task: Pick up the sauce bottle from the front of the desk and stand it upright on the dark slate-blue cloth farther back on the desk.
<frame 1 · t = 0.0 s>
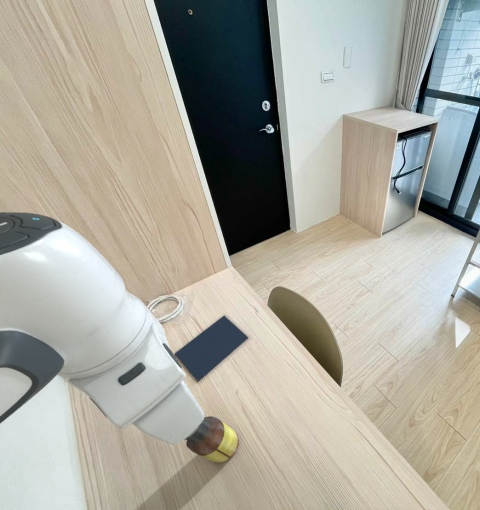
hand: (169, 391, 39), 31 cm above the table, tool pointing down, fingers open, 8 cm apart
sauce bottle: (224, 447, 60), on the table
cloth: (212, 345, 77), on the table
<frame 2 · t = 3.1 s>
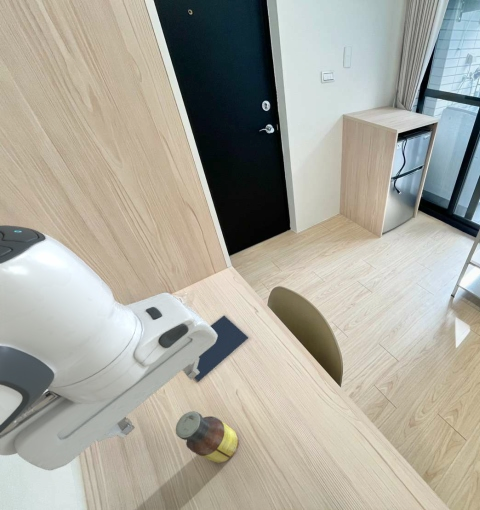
hand: (162, 399, 38), 31 cm above the table, tool pointing down, fingers open, 8 cm apart
nothing on the table moved.
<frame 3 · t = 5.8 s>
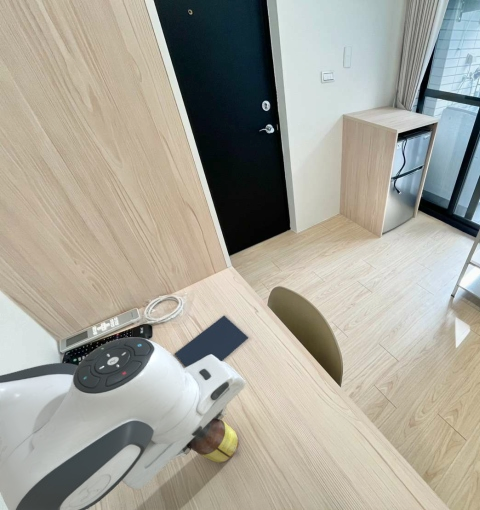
hand: (204, 431, 50), 13 cm above the table, tool pointing down, fingers closed on sauce bottle, 6 cm apart
sauce bottle: (224, 447, 60), on the table, touching gripper
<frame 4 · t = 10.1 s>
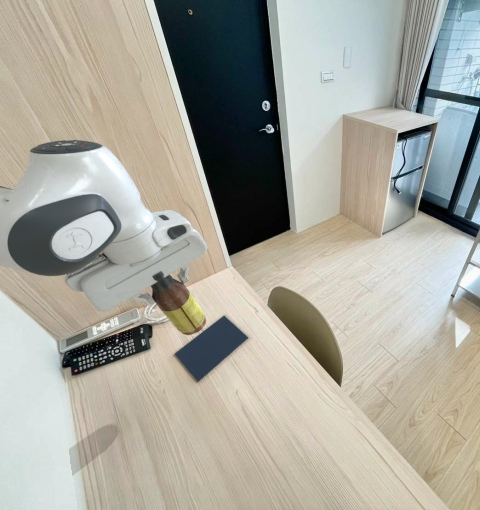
hand: (168, 290, 55), 29 cm above the table, tool pointing down, fingers closed on sauce bottle, 6 cm apart
sauce bottle: (192, 325, 64), point 16 cm above the table, touching gripper
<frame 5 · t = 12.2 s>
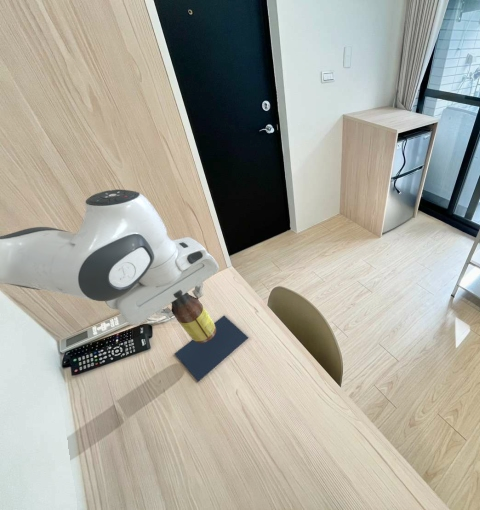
hand: (185, 305, 63), 20 cm above the table, tool pointing down, fingers closed on sauce bottle, 6 cm apart
sauce bottle: (204, 334, 72), point 6 cm above the table, touching gripper
when the fingers open (13 cm above the table, at t = 14.2 s): sauce bottle stays where it is, resting on cloth.
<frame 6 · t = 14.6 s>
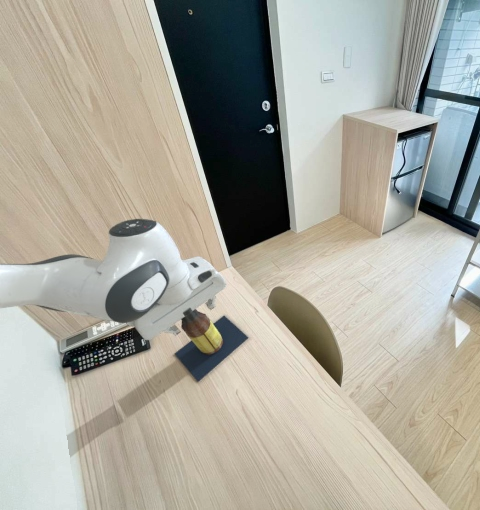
hand: (194, 319, 67), 14 cm above the table, tool pointing down, fingers open, 8 cm apart
sauce bottle: (212, 345, 77), resting on cloth
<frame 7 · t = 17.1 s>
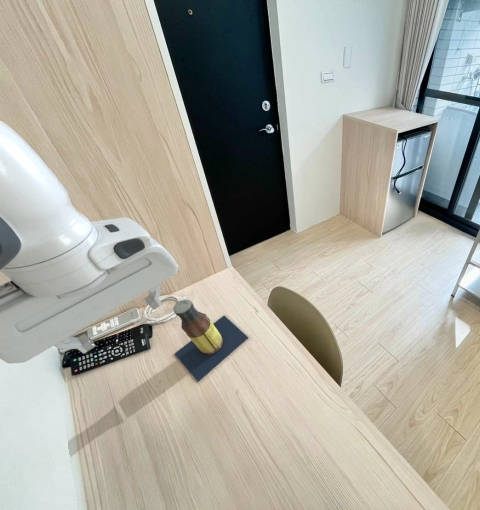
hand: (124, 324, 41), 36 cm above the table, tool pointing down, fingers open, 8 cm apart
nothing on the table moved.
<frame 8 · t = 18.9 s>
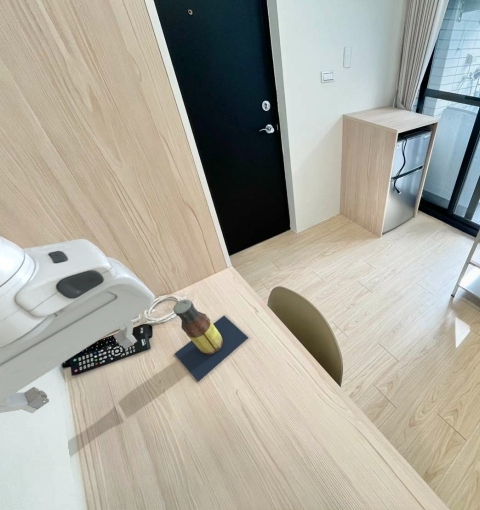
hand: (88, 370, 33), 39 cm above the table, tool pointing down, fingers open, 8 cm apart
nothing on the table moved.
at the end: sauce bottle inside the target area on the cloth (0.1 cm from its centre), point 0.1 cm above the cloth's base; sauce bottle tilted 0°; the gripper is holding nothing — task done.
